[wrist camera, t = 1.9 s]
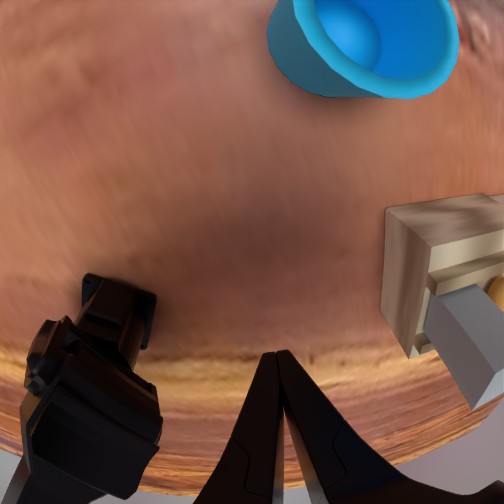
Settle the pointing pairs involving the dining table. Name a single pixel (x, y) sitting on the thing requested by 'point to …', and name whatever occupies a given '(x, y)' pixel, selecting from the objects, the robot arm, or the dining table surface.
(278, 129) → the dining table surface
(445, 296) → the grey rectangular block
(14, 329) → the dining table surface
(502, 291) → the ball
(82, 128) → the dining table surface
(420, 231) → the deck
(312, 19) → the mug
